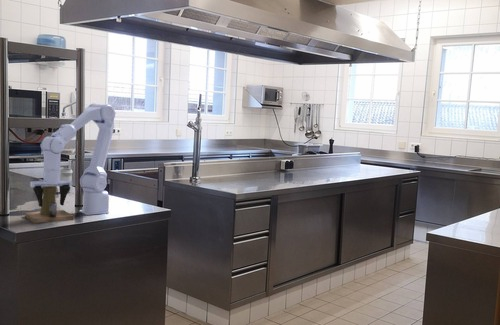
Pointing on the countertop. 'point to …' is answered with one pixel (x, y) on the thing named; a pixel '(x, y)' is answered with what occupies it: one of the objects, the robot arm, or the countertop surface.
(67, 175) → the cup
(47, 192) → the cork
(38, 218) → the board
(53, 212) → the steel dowel
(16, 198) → the countertop surface
